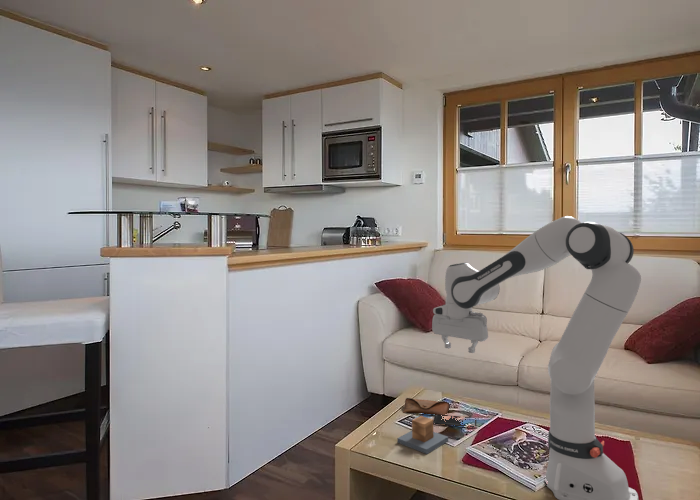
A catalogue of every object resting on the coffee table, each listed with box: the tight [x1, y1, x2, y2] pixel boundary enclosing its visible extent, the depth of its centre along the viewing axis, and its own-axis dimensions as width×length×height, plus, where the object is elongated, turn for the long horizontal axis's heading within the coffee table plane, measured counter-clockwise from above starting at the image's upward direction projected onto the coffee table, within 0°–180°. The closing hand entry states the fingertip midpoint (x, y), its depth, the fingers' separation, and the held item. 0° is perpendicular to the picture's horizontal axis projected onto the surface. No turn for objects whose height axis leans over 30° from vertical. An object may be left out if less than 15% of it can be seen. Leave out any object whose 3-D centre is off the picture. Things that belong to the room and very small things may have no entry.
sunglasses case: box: [402, 397, 451, 415], centre depth 184 cm, size 18×7×7 cm, turn 73°
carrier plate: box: [396, 430, 449, 455], centre depth 158 cm, size 12×12×4 cm
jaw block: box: [411, 415, 434, 442], centre depth 158 cm, size 5×5×6 cm
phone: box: [433, 414, 477, 427], centre depth 173 cm, size 8×1×15 cm
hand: (459, 350), depth 162 cm, fingers open, 8 cm apart
